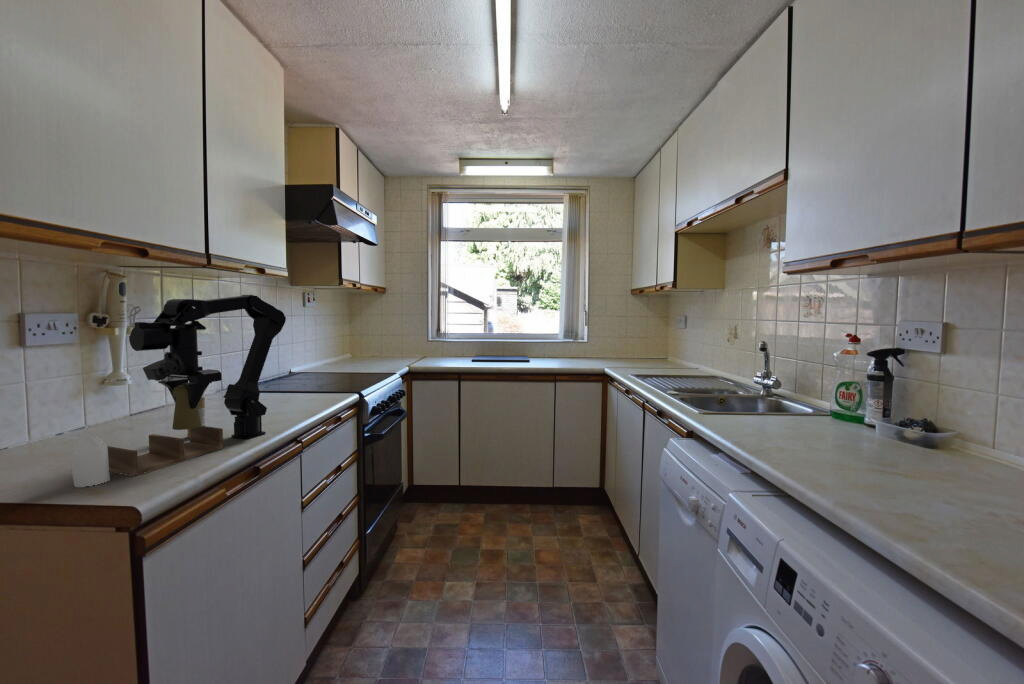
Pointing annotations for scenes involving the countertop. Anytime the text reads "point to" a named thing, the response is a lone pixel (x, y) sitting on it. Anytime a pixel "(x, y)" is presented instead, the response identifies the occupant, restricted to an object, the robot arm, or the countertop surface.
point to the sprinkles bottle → (200, 412)
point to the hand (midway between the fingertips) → (186, 407)
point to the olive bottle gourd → (184, 411)
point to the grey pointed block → (89, 460)
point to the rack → (165, 451)
